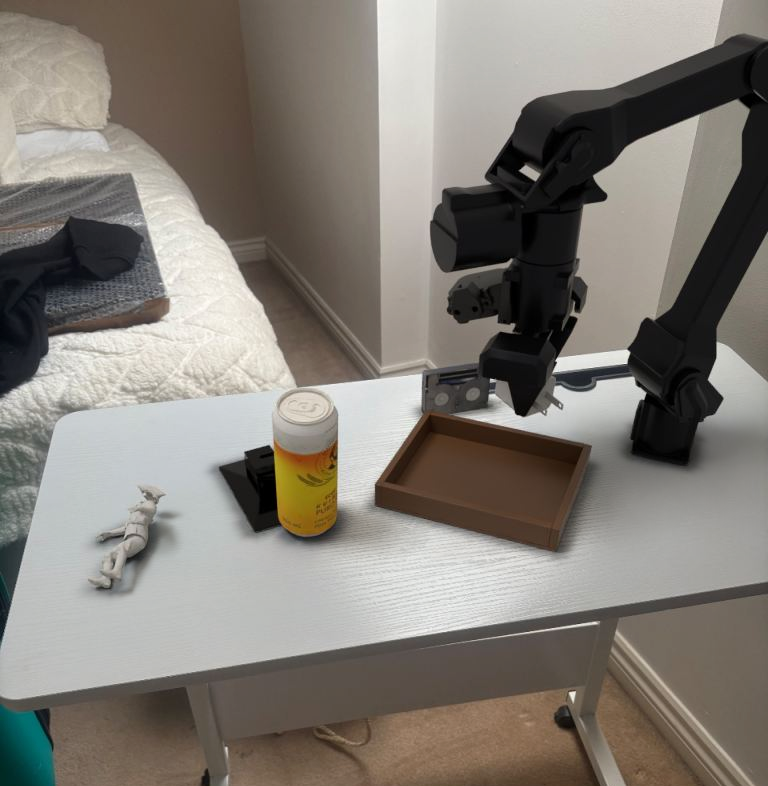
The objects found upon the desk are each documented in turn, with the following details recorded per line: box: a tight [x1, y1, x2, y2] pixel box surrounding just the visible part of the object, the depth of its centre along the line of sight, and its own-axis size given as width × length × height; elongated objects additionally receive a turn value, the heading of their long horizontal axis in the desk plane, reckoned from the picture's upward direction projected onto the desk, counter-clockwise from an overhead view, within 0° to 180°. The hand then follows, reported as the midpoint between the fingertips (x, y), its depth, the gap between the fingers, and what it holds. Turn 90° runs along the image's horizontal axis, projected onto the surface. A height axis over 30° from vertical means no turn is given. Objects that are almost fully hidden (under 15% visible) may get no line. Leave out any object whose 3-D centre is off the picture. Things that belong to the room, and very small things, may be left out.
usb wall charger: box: [494, 374, 565, 419], centre depth 83 cm, size 4×7×4 cm, turn 31°
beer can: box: [271, 387, 339, 538], centre depth 81 cm, size 6×6×15 cm
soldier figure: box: [87, 484, 167, 589], centre depth 82 cm, size 8×5×12 cm
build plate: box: [218, 444, 283, 534], centre depth 89 cm, size 12×7×5 cm, turn 26°
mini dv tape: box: [420, 361, 491, 415], centre depth 101 cm, size 8×2×6 cm, turn 106°
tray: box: [374, 410, 593, 553], centre depth 90 cm, size 20×16×3 cm
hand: (528, 400), depth 85 cm, fingers closed on usb wall charger, 5 cm apart
